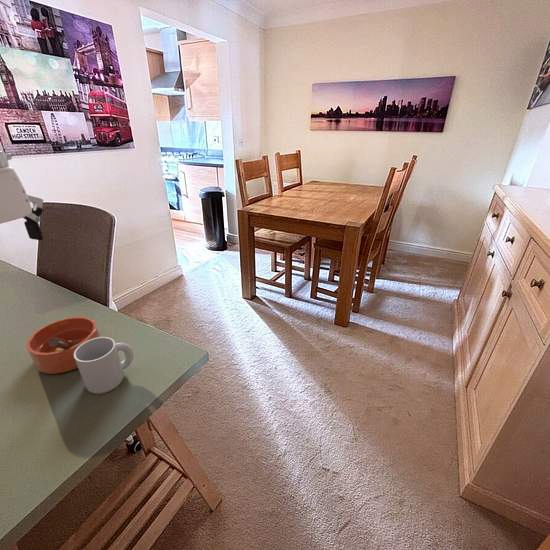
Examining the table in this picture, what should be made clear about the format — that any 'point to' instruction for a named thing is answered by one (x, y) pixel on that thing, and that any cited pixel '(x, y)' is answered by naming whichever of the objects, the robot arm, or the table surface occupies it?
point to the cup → (102, 363)
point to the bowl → (62, 329)
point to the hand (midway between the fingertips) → (14, 247)
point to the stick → (61, 343)
